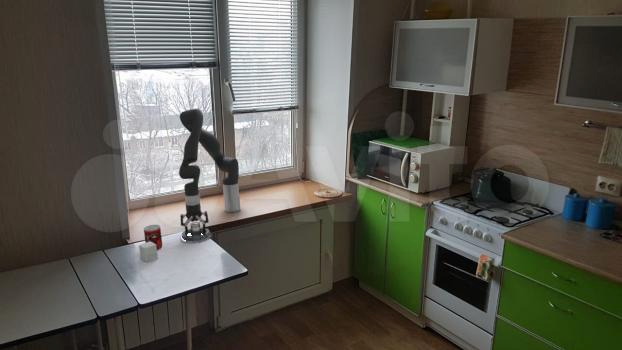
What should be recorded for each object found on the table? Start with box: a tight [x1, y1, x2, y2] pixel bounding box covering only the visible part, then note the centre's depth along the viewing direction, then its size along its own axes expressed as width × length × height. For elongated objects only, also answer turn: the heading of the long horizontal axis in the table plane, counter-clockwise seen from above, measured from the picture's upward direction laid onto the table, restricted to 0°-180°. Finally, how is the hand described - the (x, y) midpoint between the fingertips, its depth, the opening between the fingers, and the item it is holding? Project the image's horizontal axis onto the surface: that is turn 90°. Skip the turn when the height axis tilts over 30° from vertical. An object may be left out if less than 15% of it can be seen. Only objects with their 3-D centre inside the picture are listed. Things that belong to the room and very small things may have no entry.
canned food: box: [143, 224, 163, 251], centre depth 234 cm, size 8×8×11 cm
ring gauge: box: [181, 227, 212, 243], centre depth 248 cm, size 16×16×3 cm
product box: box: [138, 241, 159, 263], centre depth 222 cm, size 6×6×7 cm
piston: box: [189, 221, 201, 237], centre depth 247 cm, size 5×5×7 cm
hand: (195, 231), depth 247 cm, fingers open, 8 cm apart
